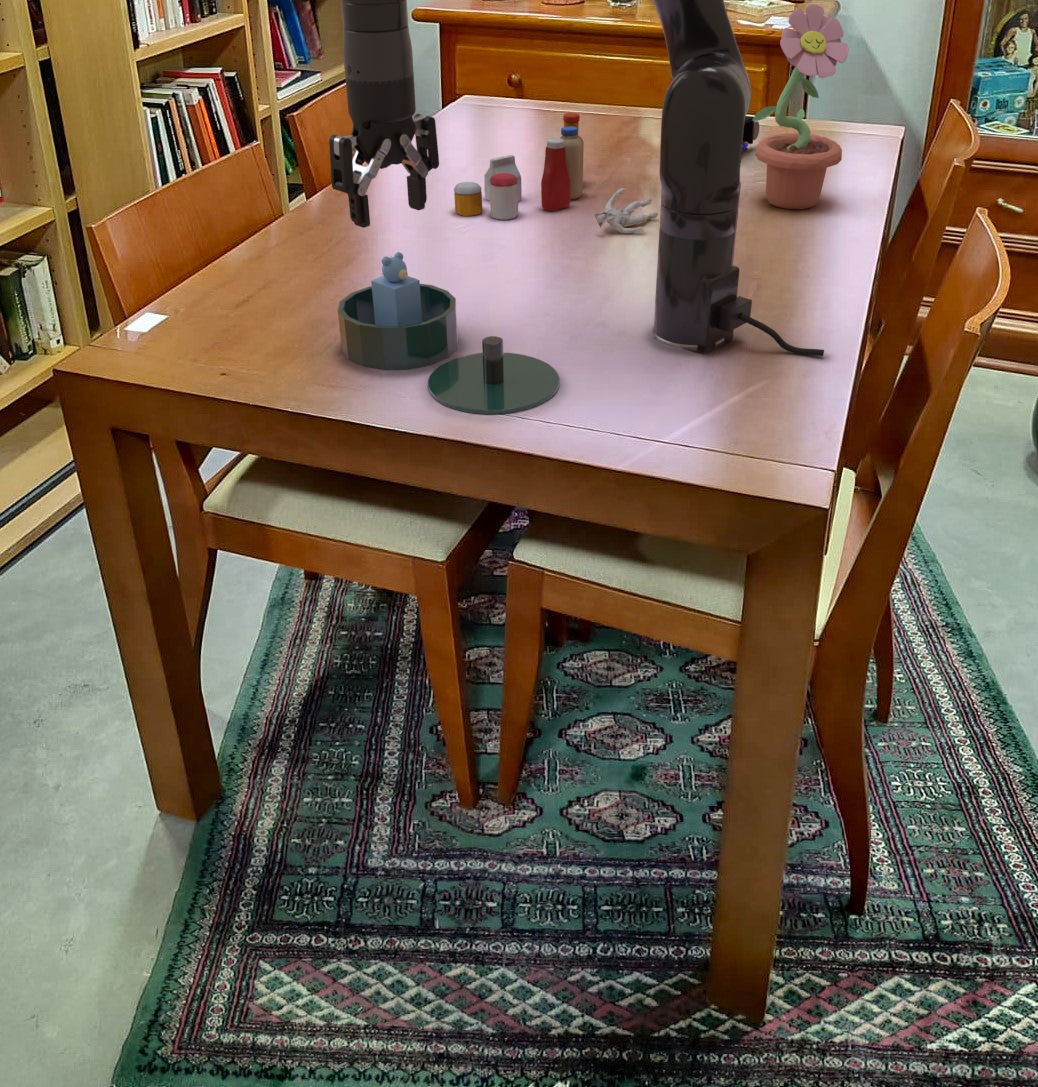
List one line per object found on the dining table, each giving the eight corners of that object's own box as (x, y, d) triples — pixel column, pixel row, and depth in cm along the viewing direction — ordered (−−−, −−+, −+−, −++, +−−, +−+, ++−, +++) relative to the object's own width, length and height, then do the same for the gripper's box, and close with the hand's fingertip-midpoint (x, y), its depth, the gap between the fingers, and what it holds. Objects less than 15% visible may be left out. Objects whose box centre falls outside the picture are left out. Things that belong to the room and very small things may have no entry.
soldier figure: (667, 230, 181) (628, 226, 172) (644, 246, 184) (605, 243, 174) (646, 188, 182) (607, 181, 172) (624, 205, 185) (584, 200, 175)
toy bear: (424, 345, 142) (417, 254, 135) (400, 355, 140) (392, 263, 133) (400, 335, 144) (393, 246, 138) (377, 345, 142) (368, 255, 135)
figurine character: (724, 152, 219) (695, 162, 208) (730, 110, 216) (700, 118, 204) (757, 156, 216) (729, 167, 205) (763, 114, 213) (735, 123, 201)
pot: (481, 347, 142) (479, 302, 139) (395, 385, 134) (391, 338, 130) (405, 317, 151) (402, 274, 147) (320, 351, 142) (314, 306, 139)
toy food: (571, 179, 201) (571, 109, 194) (615, 197, 192) (618, 124, 185) (443, 208, 189) (439, 134, 182) (484, 228, 180) (482, 151, 173)
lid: (586, 385, 133) (587, 337, 130) (494, 432, 124) (493, 382, 120) (493, 349, 142) (491, 303, 138) (401, 390, 133) (397, 342, 129)
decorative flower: (767, 220, 181) (790, 17, 164) (730, 195, 192) (747, 2, 175) (850, 211, 184) (881, 11, 167) (809, 187, 195) (834, -4, 178)
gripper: (350, 87, 117) (364, 239, 127) (449, 65, 126) (455, 209, 135) (306, 77, 122) (322, 225, 131) (405, 56, 130) (413, 196, 139)
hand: (390, 216), depth 133 cm, fingers open, 8 cm apart
